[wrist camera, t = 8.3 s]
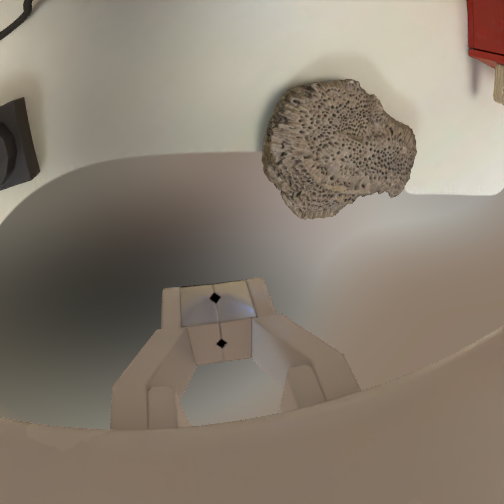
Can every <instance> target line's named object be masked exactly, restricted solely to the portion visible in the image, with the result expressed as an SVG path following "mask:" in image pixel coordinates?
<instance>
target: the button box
mask: <svg viewBox="0 0 504 504" xmlns="http://www.w3.org/2000/svg"><path fill="white" fill-rule="evenodd" d="M39 172H40V170H39V166H38V162H37V158H36V154H35V150H34V146H33V142H32V137H31V133H30V128H29V123H28V118H27V112H26V106H25V100H24V97H23V98H20V99H17V100H14V101H11V102H9V103H7V104H5V105H3V106H1V107H0V191H1V190H3V189H6V188H9V187H12V186H15V185H18V184H21V183H24V182H27V181H30V180H32V179H33V178H34V177H35V176H36V175H37V174H38V173H39Z"/></svg>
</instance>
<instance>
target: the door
mask: <svg viewBox="0 0 504 504" xmlns="http://www.w3.org/2000/svg"><path fill="white" fill-rule="evenodd" d="M469 56H471V57H473V58H475V59H477V60H479V61H481V62H483V63H485V64H487V65H489V66H491V67H493V68H495V84H494V95H493V97H494V100H495V102H498V103H500V104H503V105H504V56H500V55H496V54H492V53H487V52H482V51H477V50H472V49H469Z"/></svg>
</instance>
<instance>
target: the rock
mask: <svg viewBox="0 0 504 504" xmlns="http://www.w3.org/2000/svg"><path fill="white" fill-rule="evenodd" d="M416 153H417V151H416V140H415V135H414V134H413V131H412V129H410V127H409V126H407V125H405V124H403V123H401V122H399V121H396V120H395V119H394V118H392V117H390V115H388V114H387V113H386V112H385V111H384V109H383V107H382V105H381V103H380V100H378V99H377V98H376V96H375V95H374V94H373V95H369V94H367V93H366V91H365V90H364V89H362V88H361V87H360V84H359V82H358V81H355V80H352V79H345V80H338V81H329V82H321V83H317V84H315V83H312V84H309V86H307V87H306V86H304V85H303V86H300V87H296V88H293V89H291V90H289V91H288V92H287V93H286V94H285V95H283V96H282V98H281V99H280V101H279V102H278V103H277V106H276V109H275V110H274V113H273V115H272V117H271V119H270V121H269V124H268V128H267V132H266V135H265V138H264V146H263V153H262V154H263V155H262V162H263V165H264V173H265V175H266V176H267V178H268V179H269V181H271V182H273V183H274V185H275V186H276V188H278V189H279V190H281V195H282V198H283V200H284V202H285V204H286V205H287V206H288V207H289V208H290V209H291V210H292V211H293V213H294V214H296V215H297V216H298V217H299V218H302V219H307V218H309V219H314V218H326V217H332V216H334V215H336V214H337V213H338V212H339V210H340V209H342V208H343V207H345V206H346V205H347V204H352V203H353V202H354V201H355V199H356V198H357V197H358V196H360V195H361V196H362V197H363V196H366V195H372V194H373V193H375V192H378V193H379V194H381V193H383V192H384V191H386V192H388V193H389V196H390V197H391V198H393V197H395V196H397V195H399V194H400V193H401V192H402V190H403V189H404V186H405V185H406V183H407V181H408V180H409V179H410V173H411V168H412V167H413V164H414V159H415V156H416Z"/></svg>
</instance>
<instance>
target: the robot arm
mask: <svg viewBox="0 0 504 504" xmlns="http://www.w3.org/2000/svg"><path fill="white" fill-rule="evenodd" d="M32 1H33V0H25V1H24V4H23V9H24V12H23V13H22V14H21V15H20V17H19V18H17V19H16V20H15V21H14V22H13V23H12V24H11V25H9V26H8V27H7V28H5V29H4V30H3V31H1V32H0V40H1V39H2V38H4V37H5V36H7V35H8V34H9V33H11V32H12V31H13V30H14V29H16V28H17V27H18V26H19V25H20V24H21V23H22V22H24V20H25V19H26V18H27V17H28V16H29V15H30V13H31V11H32ZM248 358H252V360H253V361H254V362H255V363H256V364H257V365H258V366H259V367H260V368H261V369H262V370H263V371H265V372H266V373H267V374H268V375H269V376H270V377H271V378H272V379H273V380H274V381H275V382H276V383H277V384H278V385H280V386H281V387H282V388H283V389H284V390H283V395H282V400H281V405H280V410H279V413H277V414H272V415H267V416H262V417H257V418H251V419H245V420H240V421H232V422H225V423H218V424H210V425H201V426H191V425H190V423H189V421H188V419H187V416H186V414H185V412H184V410H183V408H182V405H181V403H180V399H181V397H182V395H183V393H184V391H185V389H186V387H187V385H188V383H189V381H190V379H191V377H192V375H193V373H194V371H195V369H196V366H197V365H204V364H211V363H218V362H223V361H232V360H240V359H248ZM110 425H111V426H110V429H86V428H71V427H60V426H51V425H43V424H36V423H29V422H23V421H17V420H12V419H7V418H2V417H0V504H504V326H502V327H500V328H499V329H497V330H495V331H494V332H492V333H491V334H488V335H487V336H485V337H483V338H482V339H480V340H478V341H476V342H474V343H472V344H470V345H469V346H467V347H465V348H463V349H461V350H459V351H457V352H455V353H453V354H451V355H449V356H447V357H445V358H442V359H440V360H438V361H436V362H434V363H432V364H430V365H427V366H425V367H423V368H420V369H418V370H416V371H413V372H411V373H408V374H406V375H403V376H401V377H398V378H396V379H393V380H391V381H389V382H385V383H383V384H380V385H377V386H374V387H371V388H369V389H365V390H363V391H361V389H360V387H359V384H358V383H357V380H356V378H355V376H354V374H353V372H352V370H351V368H350V366H349V364H348V362H347V360H346V358H345V356H344V354H342V353H341V352H339V351H338V350H336V349H335V348H333V347H332V346H330V345H328V344H327V343H325V342H324V341H322V340H321V339H319V338H318V337H316V336H315V335H313V334H312V333H310V332H308V331H307V330H305V329H304V328H302V327H301V326H299V325H298V324H296V323H295V322H293V321H292V320H290V319H289V318H287V317H286V316H284V315H283V314H276V311H275V309H274V306H273V303H272V301H271V298H270V295H269V293H268V290H267V287H266V285H265V282H264V279H263V278H262V277H256V278H250V279H245V280H238V281H230V282H222V283H216V284H206V285H194V286H184V287H176V288H164V289H163V292H162V329H160V330H156V331H155V333H154V334H153V335H152V337H151V338H150V339H149V340H148V342H147V343H146V344H145V346H144V347H143V348H142V349H141V351H140V352H139V353H138V354H137V356H136V357H135V358H134V360H133V361H132V362H131V364H130V365H129V366H128V367H127V369H126V370H125V371H124V373H123V374H122V375H121V377H120V378H119V379H118V380H117V382H116V383H115V384H114V386H113V389H112V404H111V424H110Z"/></svg>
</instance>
